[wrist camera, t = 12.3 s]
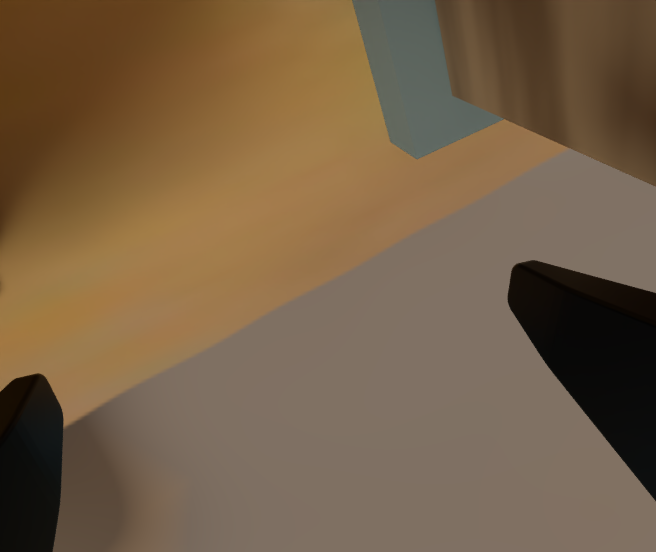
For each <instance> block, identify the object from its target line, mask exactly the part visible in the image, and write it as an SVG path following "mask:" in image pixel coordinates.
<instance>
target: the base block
mask: <svg viewBox="0 0 656 552" xmlns="http://www.w3.org/2000/svg"><path fill="white" fill-rule="evenodd" d="M352 1H353V5H354V9H355V12H356V16H357V20H358V23H359V27H360V31H361V34H362V38H363V42H364V45H365V49H366V53H367V57H368V60H369V64H370V68H371V71H372V75H373V79H374V82H375V86H376V90H377V93H378V97H379V101H380V105H381V108H382V112H383V116H384V119H385V123H386V127H387V130H388V134H389V138H390V141H391V143H393V144H394V145H396V146H397V147H399V148H400V149H402V150H403V151H405V152H407V153H408V154H410V155H411V156H413V157H414V158H416V159H419V158H421V157H423V156H425V155H427V154H430V153H432V152H434V151H436V150H438V149H440V148H443V147H445V146H447V145H449V144H451V143H453V142H455V141H458V140H460V139H462V138H464V137H466V136H468V135H471V134H473V133H475V132H477V131H479V130H481V129H484V128H486V127H488V126H490V125H492V124H494V123H497V122H499V121H501V120H503V118H501V117H499V116H497V115H494V114H492V113H490V112H488V111H485V110H483V109H481V108H479V107H476V106H474V105H472V104H470V103H467V102H465V101H463V100H461V99H459V98H456V97H454V96H452V91H451V86H450V80H449V75H448V70H447V64H446V59H445V53H444V48H443V42H442V37H441V31H440V26H439V21H438V15H437V10H436V4H435V0H352Z"/></svg>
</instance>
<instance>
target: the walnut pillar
mask: <svg viewBox="0 0 656 552" xmlns="http://www.w3.org/2000/svg"><path fill="white" fill-rule="evenodd" d="M435 4H436V10H437V15H438V21H439V26H440V31H441V37H442V42H443V48H444V53H445V59H446V64H447V70H448V75H449V80H450V86H451V91H452V96H454V97H456V98H459V99H461V100H463V101H465V102H467V103H470V104H472V105H474V106H476V107H479V108H481V109H483V110H485V111H488V112H490V113H492V114H494V115H497V116H499V117H501V118H503V119H506V120H508V121H510V122H512V123H515V124H517V125H519V126H521V127H523V128H526V129H528V130H530V131H532V132H535V133H537V134H539V135H541V136H544V137H546V138H548V139H550V140H553V141H555V142H557V143H559V144H562V145H564V146H566V147H568V148H571V149H573V150H575V151H577V152H580V153H582V154H584V155H586V156H589V157H591V158H593V159H595V160H597V161H600V162H602V163H604V164H606V165H609V166H611V167H613V168H615V169H618V170H620V171H622V172H624V173H626V174H629V175H631V176H633V177H636V178H638V179H640V180H642V181H645V182H647V183H649V184H651V185H653V186H656V0H435Z"/></svg>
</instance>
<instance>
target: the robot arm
mask: <svg viewBox="0 0 656 552" xmlns="http://www.w3.org/2000/svg"><path fill="white" fill-rule="evenodd" d="M508 304H509V307H510V309H511V311H512V312H513V313H514V315H515V317H516V318H517V320H518V321H519V323H520V324H521V326H522V328H523V329H524V331H525V332H526V334H527V335H528V337H529V339H530V340H531V342H532V343H533V345H534V346H535V348H536V349H537V351H538V353H539V354H540V356H541V357H542V358H543V360H544V361H545V363H546V364H547V366H548V367H549V368H550V370H551V371H552V372H553V374H554V375H555V376H556V377H557V379H558V380H559V381H560V382H561V383H562V385H563V386H564V387H565V389H566V390H567V391H568V392H569V394H570V395H571V396H572V397H573V399H574V400H575V401H576V402H577V404H578V405H579V406H580V407H581V409H582V410H583V411H584V412H585V414H586V415H587V416H588V417H589V419H590V420H591V421H592V422H593V424H594V425H595V426H596V427H597V429H598V430H599V431H600V432H601V433H602V435H603V436H604V437H605V438H606V440H607V441H608V442H609V443H610V445H611V446H612V447H613V448H614V450H615V451H616V452H617V453H618V455H619V456H620V457H621V458H622V460H623V461H624V462H625V463H626V464H627V466H628V467H629V468H630V470H631V471H632V472H633V473H634V475H635V476H636V477H637V478H638V480H639V481H640V482H641V483H642V485H643V486H644V487H645V488H646V490H647V491H648V492H649V493H650V495H651V496H652V497H653V498H654V500H655V501H656V293H653V292H650V291H646V290H642V289H639V288H635V287H631V286H628V285H624V284H620V283H616V282H613V281H609V280H605V279H602V278H598V277H594V276H591V275H587V274H583V273H580V272H576V271H572V270H568V269H565V268H561V267H558V266H554V265H550V264H547V263H543V262H539V261H535V260H531V261H526V262H522V263H518V264H516V265H515V266H514V267H513V268H512V271H511V278H510V285H509V291H508ZM62 444H63V412H62V409H61V406H60V404H59V402H58V400H57V398H56V396H55V394H54V392H53V390H52V388H51V386H50V384H49V382H48V381H47V379H46V377H45V376H44V375H42V374H39V373H38V374H33V375H28V376H24V377H20V378H16V379H14V380H13V381H11V382H10V383H9V384H8V385H7V386H6V387H5V388H4V389H3V390H2V391H1V392H0V552H53V546H54V540H55V534H56V527H57V521H58V515H59V507H60V497H61V476H62V447H63V445H62Z"/></svg>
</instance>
